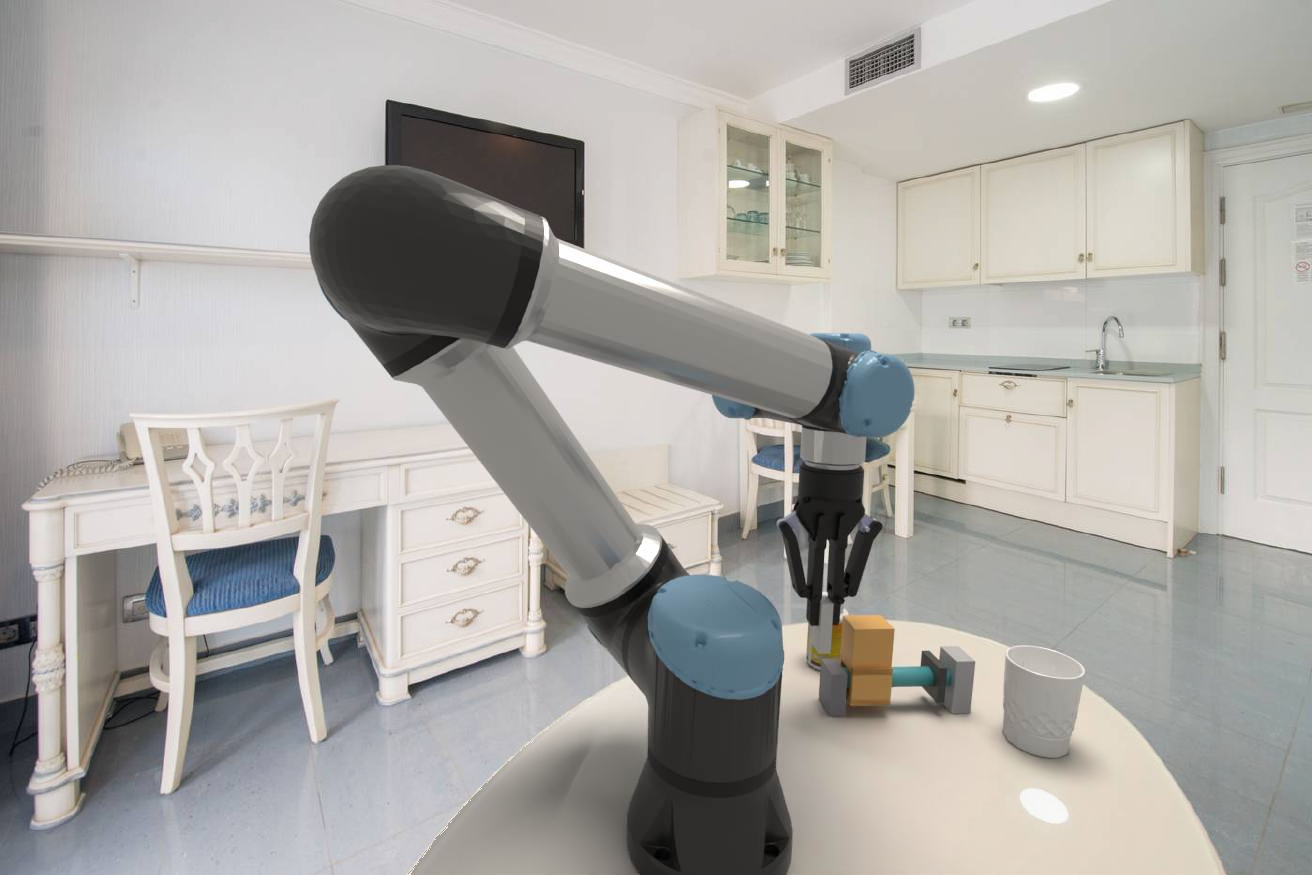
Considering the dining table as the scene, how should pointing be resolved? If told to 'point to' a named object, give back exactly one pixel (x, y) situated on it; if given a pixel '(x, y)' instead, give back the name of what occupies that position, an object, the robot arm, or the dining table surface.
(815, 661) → the supplement bottle
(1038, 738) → the white cup
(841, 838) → the dining table surface
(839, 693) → the teal axle dumbbell
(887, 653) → the sleeve
